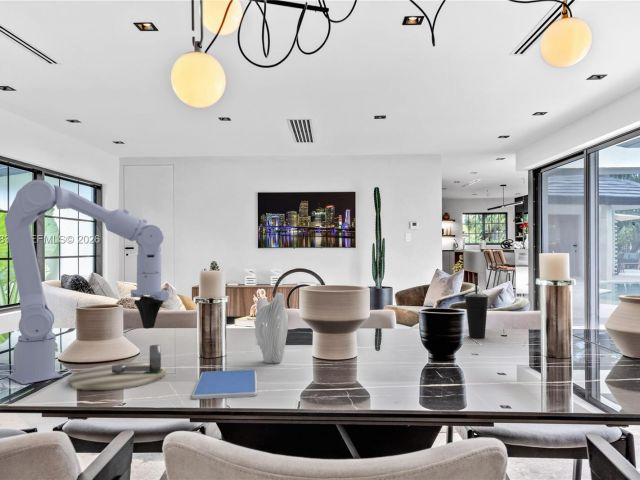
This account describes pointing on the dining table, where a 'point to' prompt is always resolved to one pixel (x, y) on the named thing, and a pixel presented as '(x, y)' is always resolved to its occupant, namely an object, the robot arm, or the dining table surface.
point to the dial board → (113, 378)
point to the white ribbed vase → (271, 328)
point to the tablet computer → (226, 384)
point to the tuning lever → (153, 367)
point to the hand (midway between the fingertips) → (148, 327)
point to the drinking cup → (476, 312)
